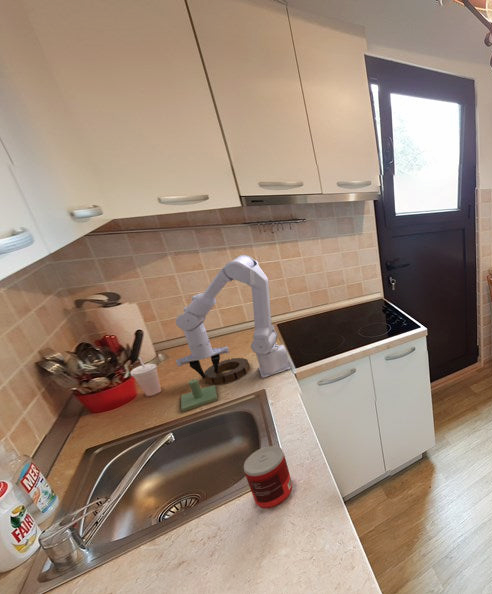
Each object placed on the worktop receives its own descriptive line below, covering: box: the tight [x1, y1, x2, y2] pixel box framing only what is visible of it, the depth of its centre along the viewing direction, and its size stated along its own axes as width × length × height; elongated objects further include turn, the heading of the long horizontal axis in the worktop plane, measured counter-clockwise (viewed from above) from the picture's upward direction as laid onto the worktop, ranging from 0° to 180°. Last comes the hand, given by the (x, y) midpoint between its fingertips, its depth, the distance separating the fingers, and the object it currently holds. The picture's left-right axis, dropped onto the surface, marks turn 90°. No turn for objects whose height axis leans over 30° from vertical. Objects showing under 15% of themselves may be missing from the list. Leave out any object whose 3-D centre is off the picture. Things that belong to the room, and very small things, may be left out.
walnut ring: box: [203, 357, 251, 385], centre depth 123 cm, size 13×13×3 cm
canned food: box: [243, 445, 293, 510], centre depth 75 cm, size 8×8×11 cm
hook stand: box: [180, 378, 218, 413], centre depth 108 cm, size 9×9×7 cm
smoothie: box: [129, 356, 162, 397], centre depth 111 cm, size 6×6×14 cm
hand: (210, 375), depth 120 cm, fingers closed on walnut ring, 3 cm apart
